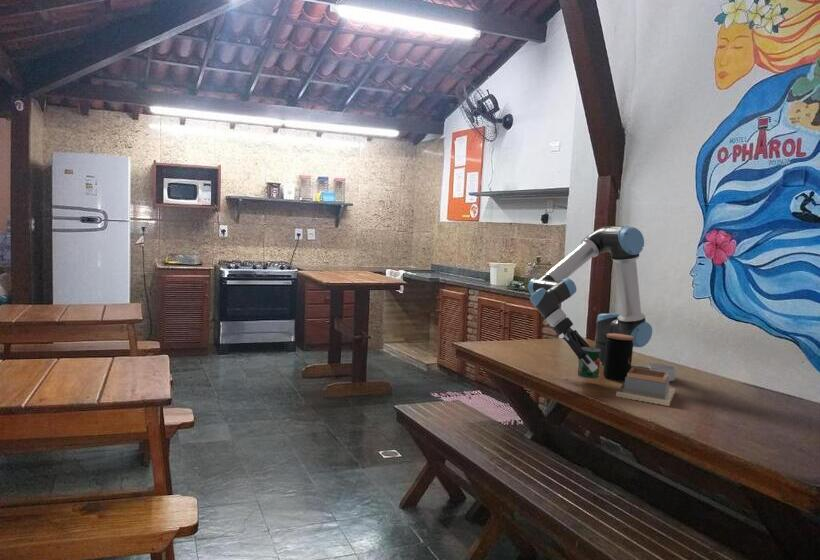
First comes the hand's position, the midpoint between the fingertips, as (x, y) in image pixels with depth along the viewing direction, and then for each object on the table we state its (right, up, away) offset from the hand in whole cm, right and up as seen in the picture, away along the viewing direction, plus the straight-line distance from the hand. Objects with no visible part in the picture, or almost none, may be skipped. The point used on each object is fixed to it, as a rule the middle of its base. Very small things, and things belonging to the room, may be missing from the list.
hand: (597, 368), depth 235 cm
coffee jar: (+12, -7, +14) cm, 20 cm away
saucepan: (+28, -8, +18) cm, 34 cm away
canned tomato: (-3, -4, +2) cm, 5 cm away
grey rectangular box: (+15, -9, -10) cm, 20 cm away
